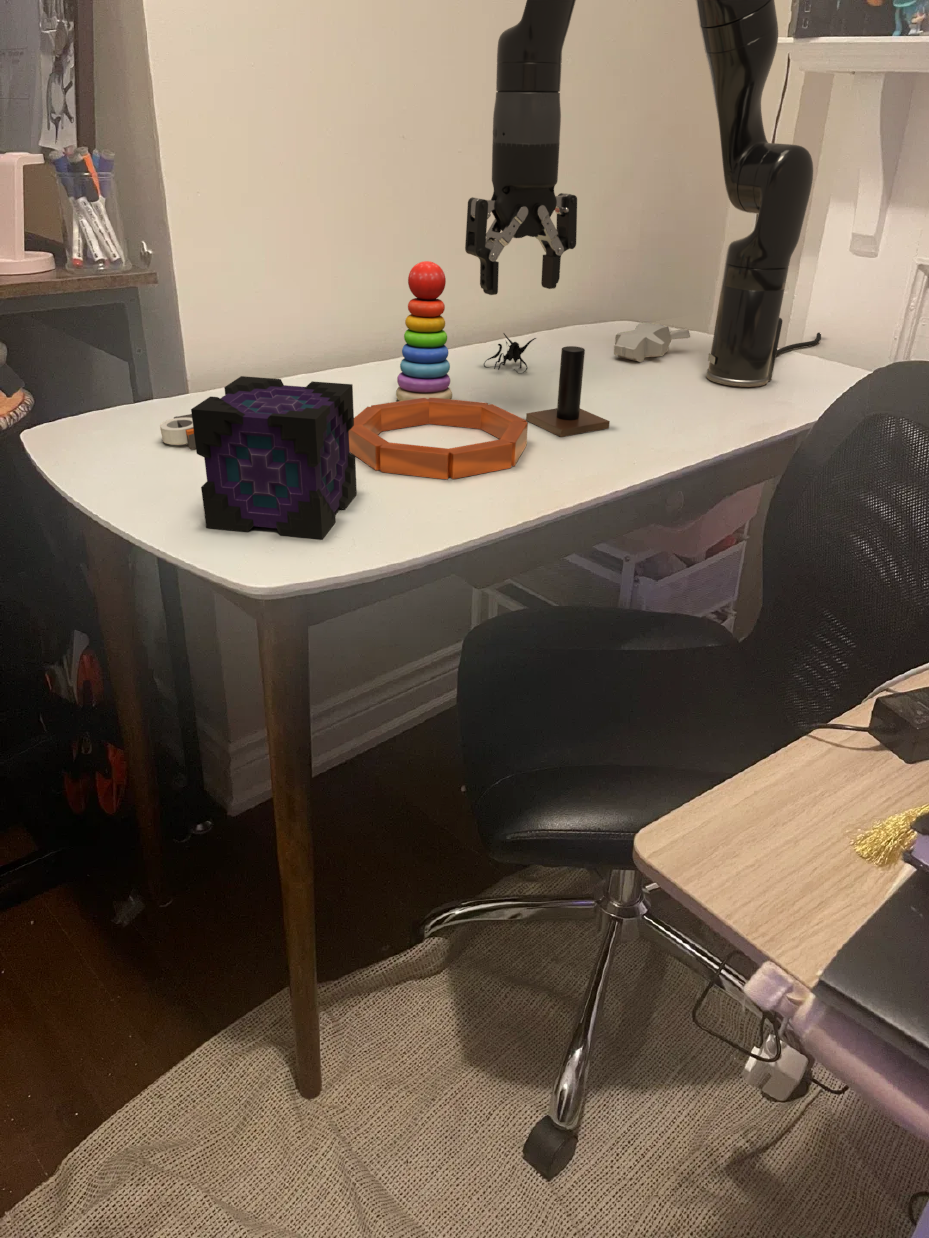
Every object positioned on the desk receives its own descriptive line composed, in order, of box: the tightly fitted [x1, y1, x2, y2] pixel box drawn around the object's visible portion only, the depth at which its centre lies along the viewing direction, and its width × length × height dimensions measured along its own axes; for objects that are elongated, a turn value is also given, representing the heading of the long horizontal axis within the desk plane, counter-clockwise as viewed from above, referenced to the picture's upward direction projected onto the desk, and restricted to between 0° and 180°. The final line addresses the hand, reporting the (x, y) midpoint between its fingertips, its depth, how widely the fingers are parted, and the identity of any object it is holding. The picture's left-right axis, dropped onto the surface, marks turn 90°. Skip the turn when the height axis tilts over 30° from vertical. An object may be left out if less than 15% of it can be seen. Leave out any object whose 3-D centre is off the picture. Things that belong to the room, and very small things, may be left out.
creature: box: [483, 332, 537, 375], centre depth 145 cm, size 8×5×8 cm
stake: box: [525, 345, 610, 438], centre depth 119 cm, size 8×8×10 cm
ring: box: [349, 398, 529, 480], centre depth 111 cm, size 21×21×3 cm
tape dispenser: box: [159, 413, 196, 450], centre depth 113 cm, size 7×3×15 cm
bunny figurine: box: [613, 321, 691, 363], centre depth 155 cm, size 10×5×15 cm
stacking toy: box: [395, 260, 453, 401], centre depth 124 cm, size 8×8×19 cm
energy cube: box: [190, 375, 358, 540], centre depth 91 cm, size 12×12×12 cm
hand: (520, 291), depth 109 cm, fingers open, 8 cm apart
